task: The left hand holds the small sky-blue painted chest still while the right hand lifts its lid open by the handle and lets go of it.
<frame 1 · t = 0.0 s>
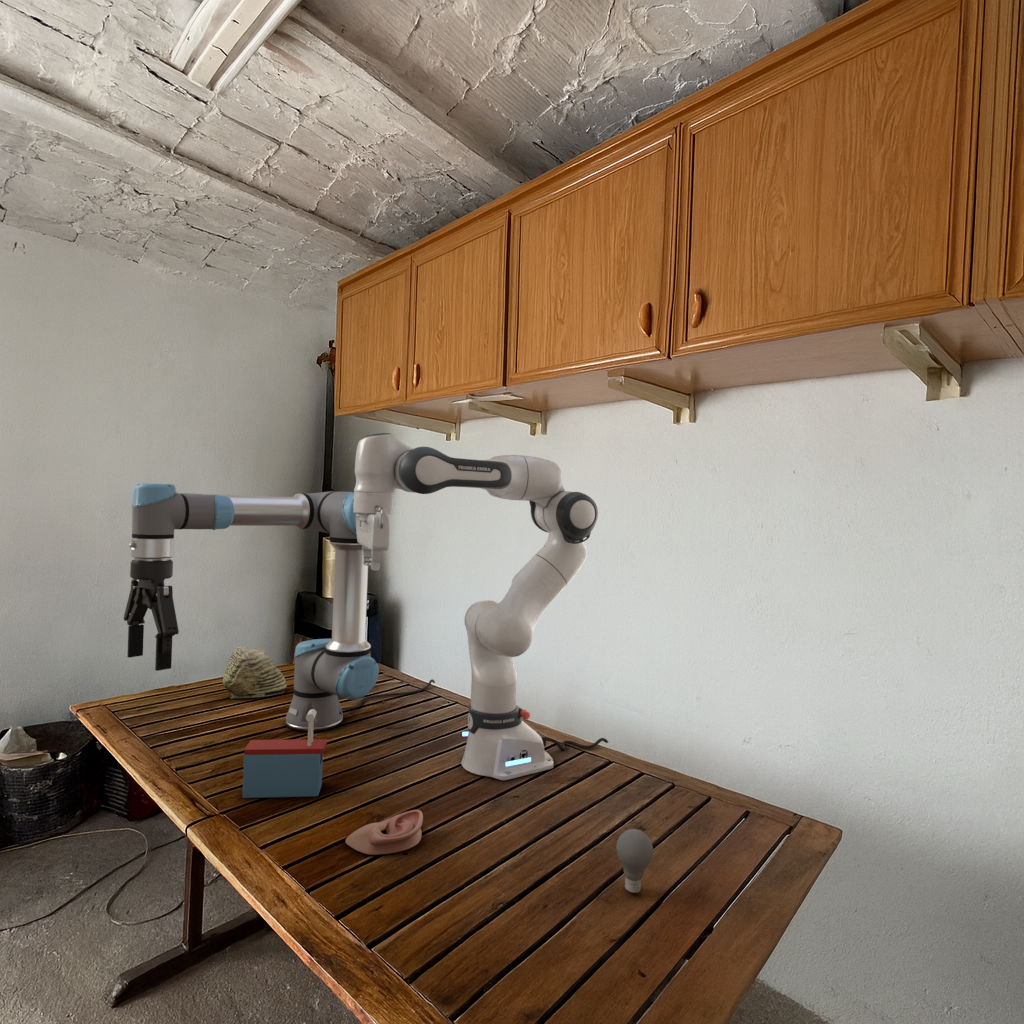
left hand: (148, 662, 129), 28 cm above the table, tool pointing down, fingers open, 13 cm apart
right hand: (371, 567, 141), 48 cm above the table, tool pointing down, fingers open, 8 cm apart
lid: (287, 730, 135), point 13 cm above the table, hinge at 0.0°
chest: (283, 791, 135), on the table
fossil: (254, 694, 198), on the table
anatomical model: (384, 840, 118), on the table
light bulb: (632, 891, 106), on the table
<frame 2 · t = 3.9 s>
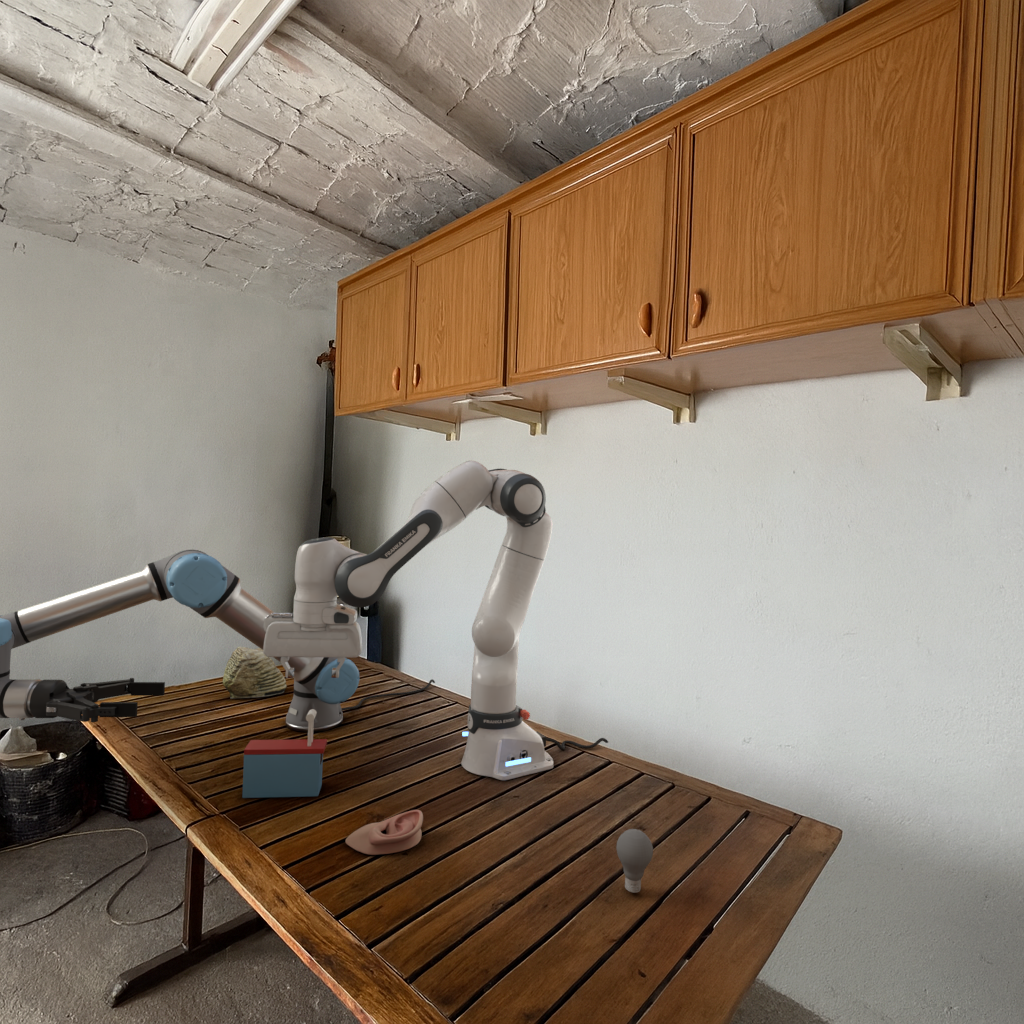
left hand: (151, 698, 131), 20 cm above the table, tool horizontal, fingers open, 13 cm apart
right hand: (312, 677, 136), 25 cm above the table, tool pointing down, fingers open, 8 cm apart
nothing on the table moved.
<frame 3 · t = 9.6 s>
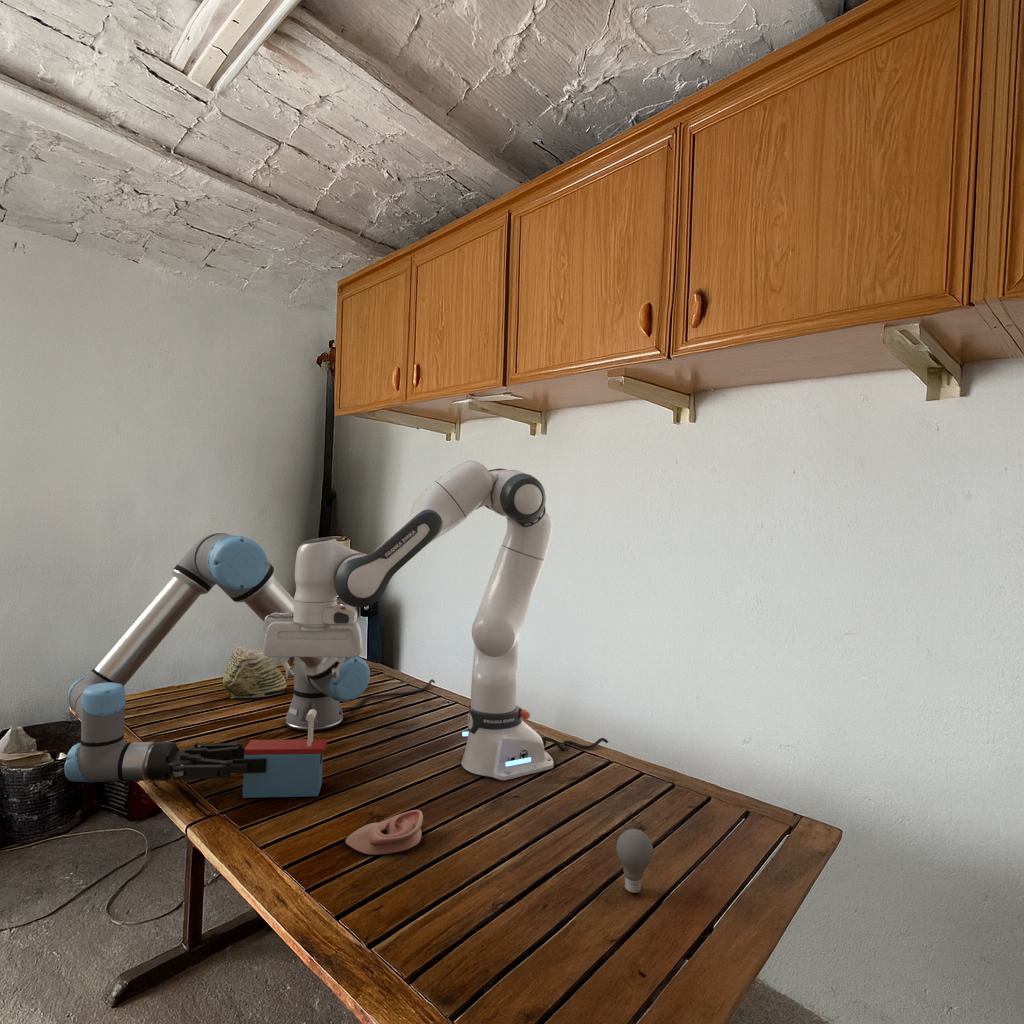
left hand: (269, 759, 135), 7 cm above the table, tool horizontal, fingers closed on chest, 5 cm apart
right hand: (312, 677, 136), 25 cm above the table, tool pointing down, fingers open, 8 cm apart
chest: (283, 791, 135), on the table, touching left hand
everything else where it was.
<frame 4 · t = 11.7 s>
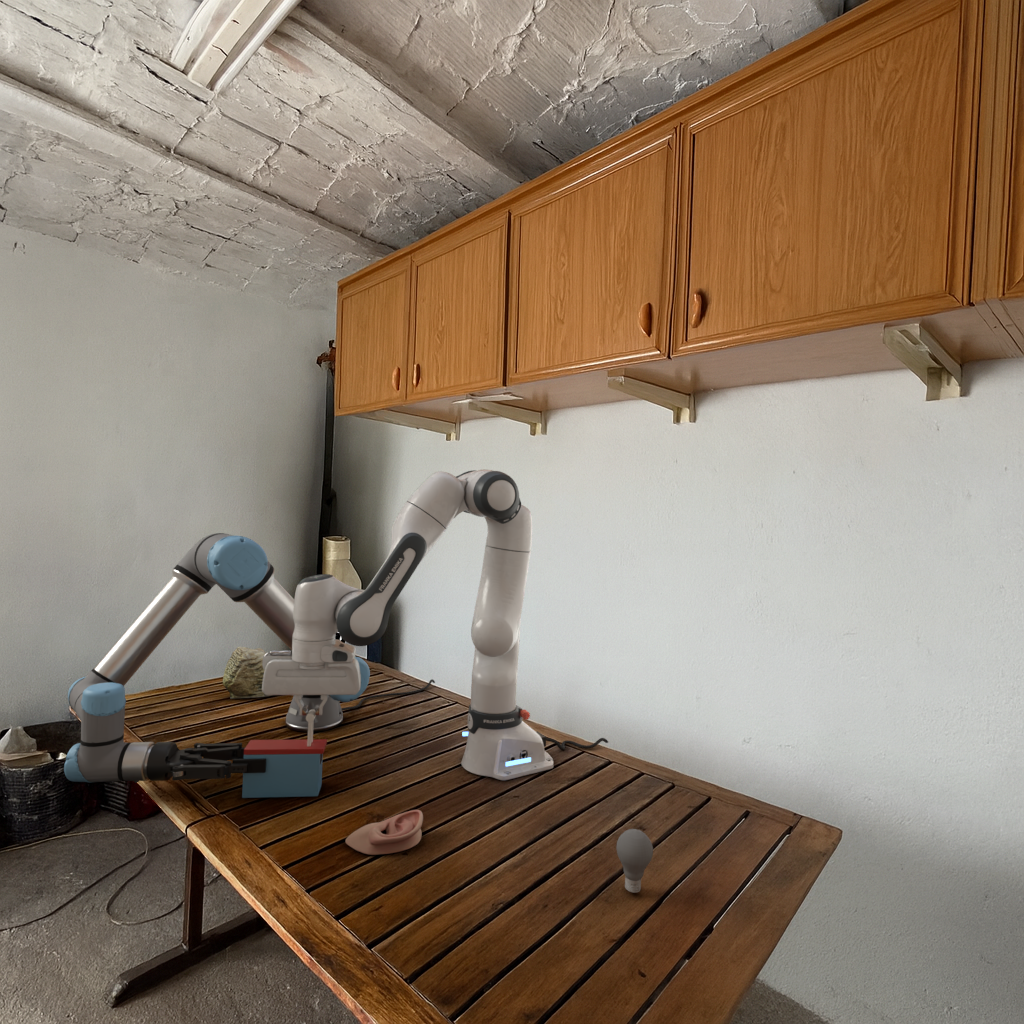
left hand: (268, 759, 135), 7 cm above the table, tool horizontal, fingers closed on chest, 5 cm apart
right hand: (311, 714, 136), 17 cm above the table, tool pointing down, fingers closed on lid, 2 cm apart
lid: (287, 730, 135), point 13 cm above the table, hinge at -0.1°, touching right hand
chest: (282, 791, 135), on the table, touching left hand
everything else where it was.
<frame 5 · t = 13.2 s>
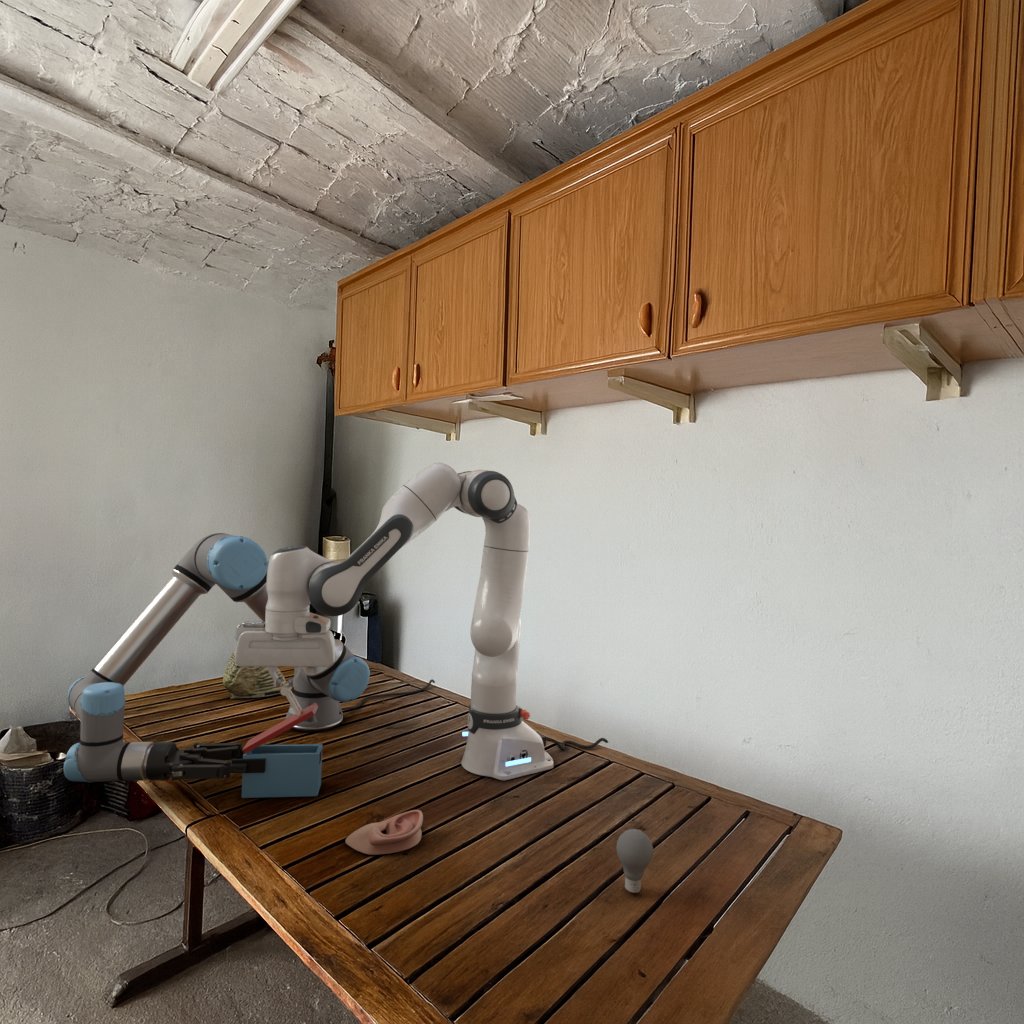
left hand: (268, 759, 135), 7 cm above the table, tool horizontal, fingers closed on chest, 5 cm apart
right hand: (285, 686, 135), 23 cm above the table, tool pointing down, fingers closed
lid: (272, 713, 135), point 17 cm above the table, hinge at 30.8°, touching right hand
chest: (282, 791, 136), on the table, touching left hand
everything else where it was.
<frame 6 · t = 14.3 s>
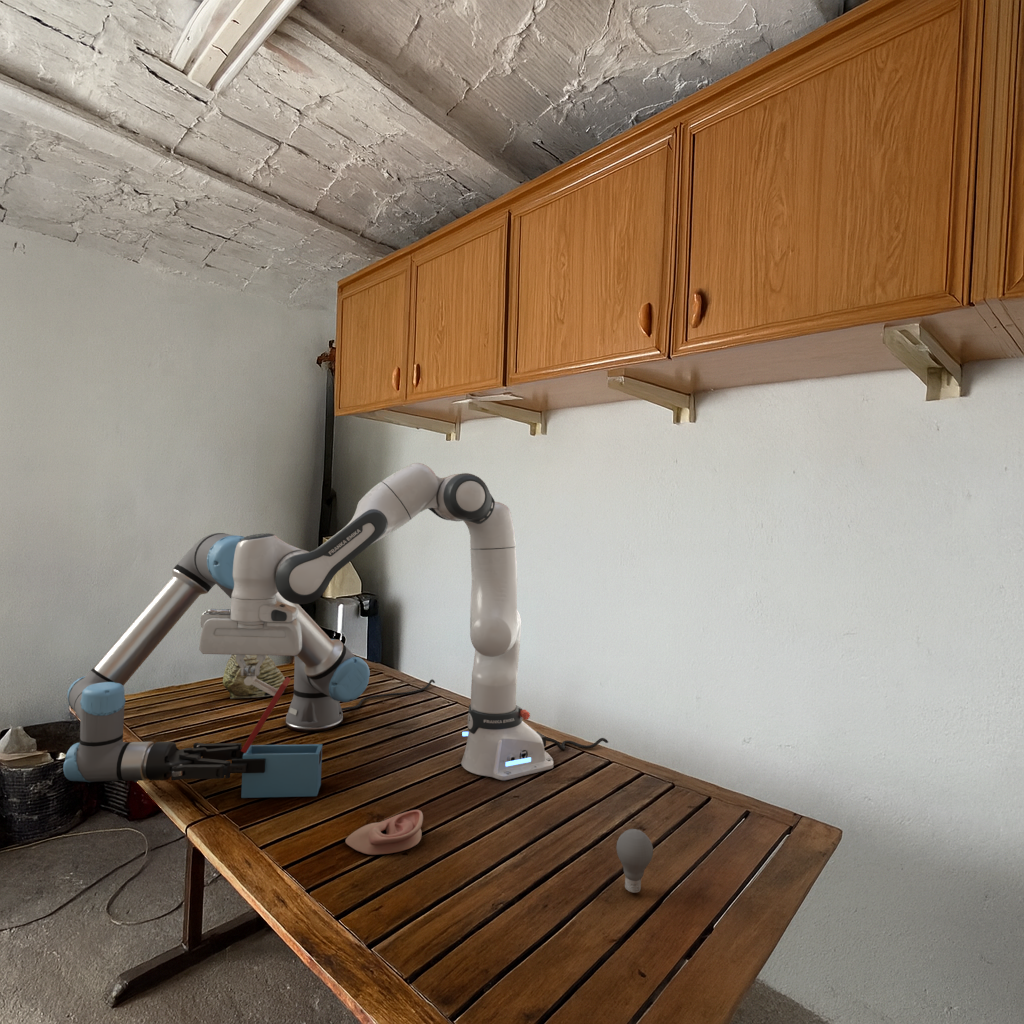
left hand: (268, 759, 135), 7 cm above the table, tool horizontal, fingers closed on chest, 5 cm apart
right hand: (250, 675, 134), 25 cm above the table, tool pointing down, fingers closed, pressing on lid
lid: (251, 706, 134), point 18 cm above the table, hinge at 61.4°, touching right hand
chest: (282, 791, 135), on the table, touching left hand
everything else where it was.
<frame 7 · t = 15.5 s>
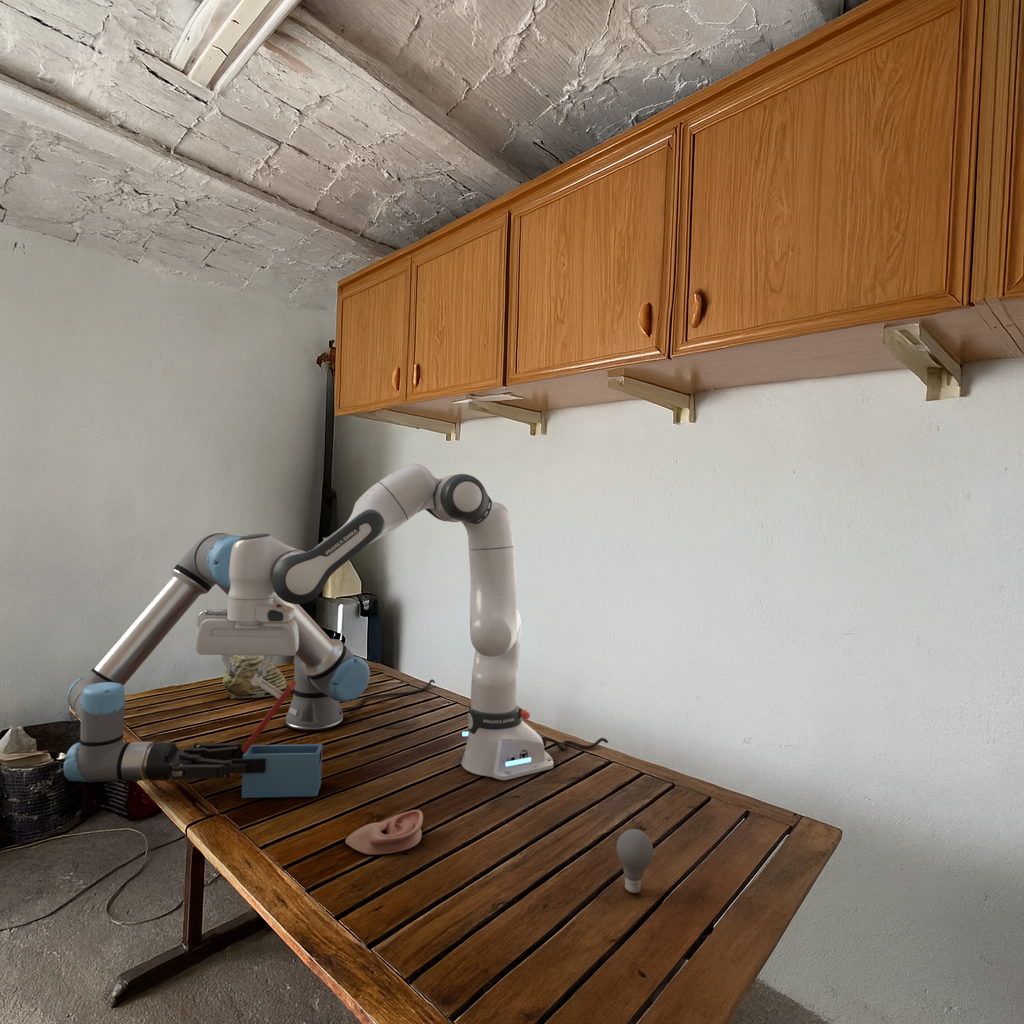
left hand: (268, 759, 135), 7 cm above the table, tool horizontal, fingers closed on chest, 5 cm apart
right hand: (247, 675, 134), 25 cm above the table, tool pointing down, fingers open, 5 cm apart
lid: (255, 706, 134), point 18 cm above the table, hinge at 56.2°, touching right hand
chest: (282, 791, 135), on the table, touching left hand
everything else where it was.
when the left hand's fingers open (7 cm above the table, at t = 18.5 s): chest stays where it is, on the table.
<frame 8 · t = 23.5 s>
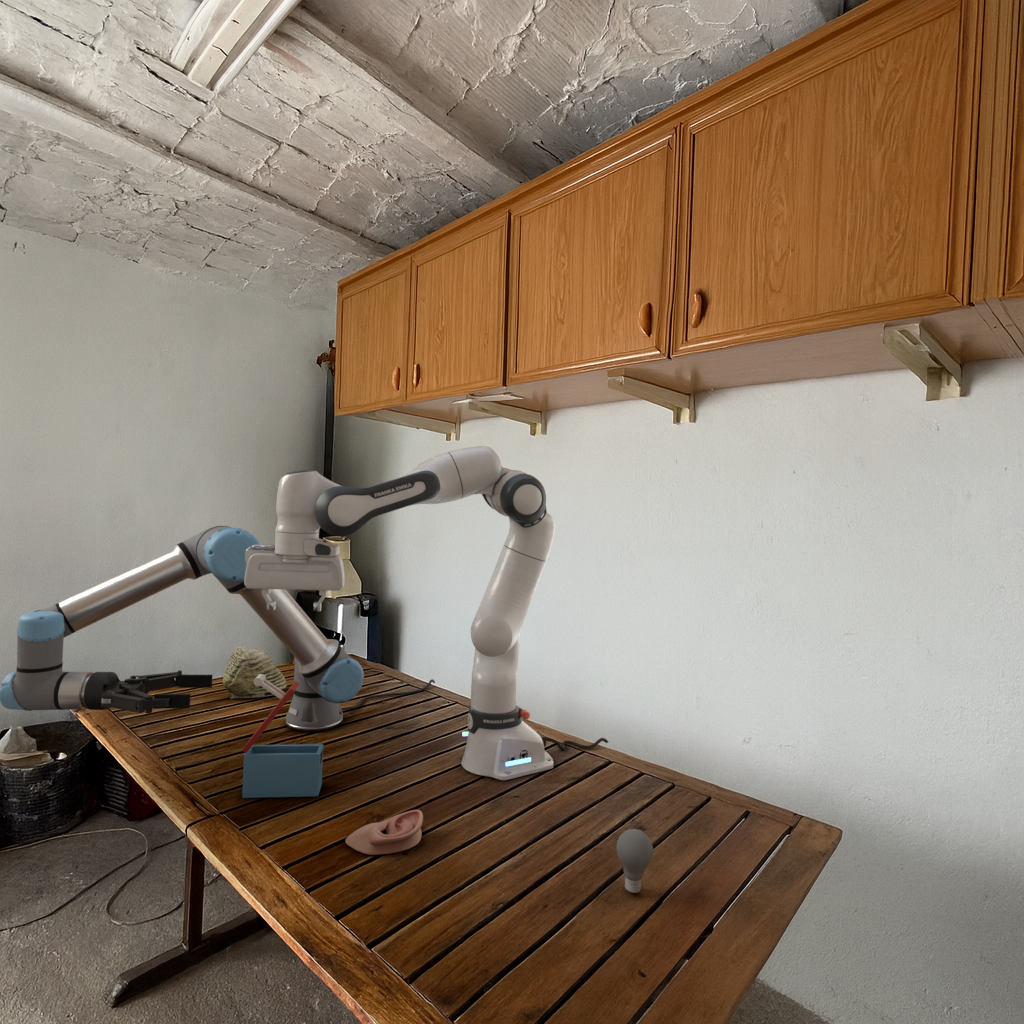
left hand: (201, 690, 133), 22 cm above the table, tool horizontal, fingers open, 13 cm apart
right hand: (294, 610, 135), 39 cm above the table, tool pointing down, fingers open, 8 cm apart
lid: (257, 706, 134), point 18 cm above the table, hinge at 54.7°
chest: (283, 791, 136), on the table
everything else where it was.
at the end: lid at +55° (first picture: +0°); the left hand is holding nothing; the right hand is holding nothing; chest tilted 0°; chest never tilted more than 1° during the clip; chest moved 0.0 cm from its start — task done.
